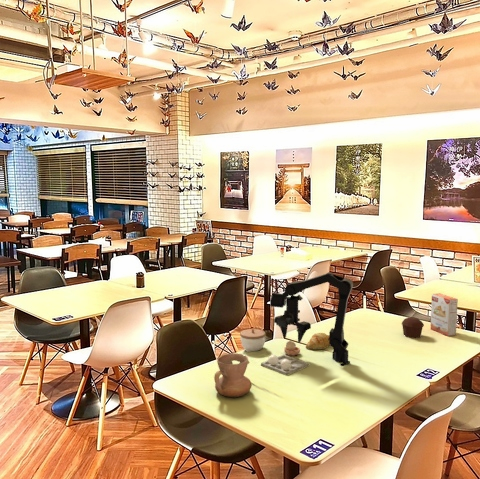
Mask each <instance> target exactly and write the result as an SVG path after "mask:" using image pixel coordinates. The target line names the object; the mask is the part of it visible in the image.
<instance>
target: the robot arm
mask: <svg viewBox="0 0 480 479" xmlns="http://www.w3.org/2000/svg"><path fill="white" fill-rule="evenodd" d="M325 283H329V284H330V285H332V286H333V287H334V288H337V289H338V290H337V292H338V304H337V308H336V309H337V311H336V316H335V323H334V326H333V327H334V328H333V327H331V328H330V330H329V333H328V335H329V339H328V340H329V344H330V345H329V346H330V347H332V350H333V351H332V360H333V361H334V362H336V363H340V364H339V366H341V367H344V366H345V365H348V364H350V363H351V361H350V360H349V350H348V346H349V342H348V341H346V339H345V332H344V324H345V318H346V312H347V307H348V300H349V297H350V295H351V292H352V290H353V287H354V282H353V280H351V278H349V277H348V278H346V277H345V278H344V277H343V276H339V275H337V274H335V273H332V272H330V271H329V272H328V271H327V272H326V273H323V274H321V275H318V276H315V277H312V278H308V279H306V280H305V279H304V280H296V281H291V282H290V283H288V284H287V285H285V287H284V289H285V290H284V292H282V293H280V292H279V293H278V292H272V294H271V298H270V300H269V301H270V307H272V308H273V307H274V308H282V309H283V308H284V307H286V310H284V312H283V315H278V316H275V317H274V319H273V320H274V321H273V323H275V324H276V326H278V327H279V329H280V331H281V334H282V336H283V338H284V339H285V338H286V337H287V334H288V326H291V325H292V326H296V332H297V342H298V343H301V342H302V339H303V338H304V335H305V334H306V332H307V331H308V330H311V328H312V327H311V326H312V325H311V324H312V323H310V322H308V321H301V319H300V318H299V313H300V314H301V310H299V301H301V302H302V300H303V297H302V296H301V295H300V294H299V293H301V292H302V291H305V290H306V289H309V288H310V289H311V288H314V287H316V286H319V285H323V284H325ZM299 321H300V322H299ZM286 339H287V338H286Z"/></svg>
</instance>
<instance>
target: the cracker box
mask: <svg viewBox="0 0 480 479" xmlns="http://www.w3.org/2000/svg"><path fill="white" fill-rule="evenodd" d="M458 304H459V303H458V298H456V297H454V296H449V295H447V294H443V293H432V294H431V307H430V308H431V310H430V311H431V312H430V330H432V331H435V332H437V333H439V334H442V335H444V336H447V337H452V336H457V324H458V323H457V320H458V317H457V316H458Z"/></svg>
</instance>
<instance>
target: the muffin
mask: <svg viewBox="0 0 480 479" xmlns="http://www.w3.org/2000/svg"><path fill="white" fill-rule="evenodd" d="M401 325H402V332H403V336H404V335H405V336H404V337H406V338H409V339H419V338H421V337H422V332H423V327H425V325H424V322H423V321H422V320H420V319H419V318H417V317H414V316H409V317H406V318H404V319H403V320H402V322H401Z"/></svg>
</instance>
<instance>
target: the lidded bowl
mask: <svg viewBox="0 0 480 479" xmlns="http://www.w3.org/2000/svg"><path fill="white" fill-rule="evenodd" d="M265 342H266V332H265V331H264V330H262V329H257V328H249V329H244V330H241V331H240V345H241V346H242V348H243V349H244V350H245V352H247V353H250V352H257V351H260V350H262V349H263V347H264V346H265Z"/></svg>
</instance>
